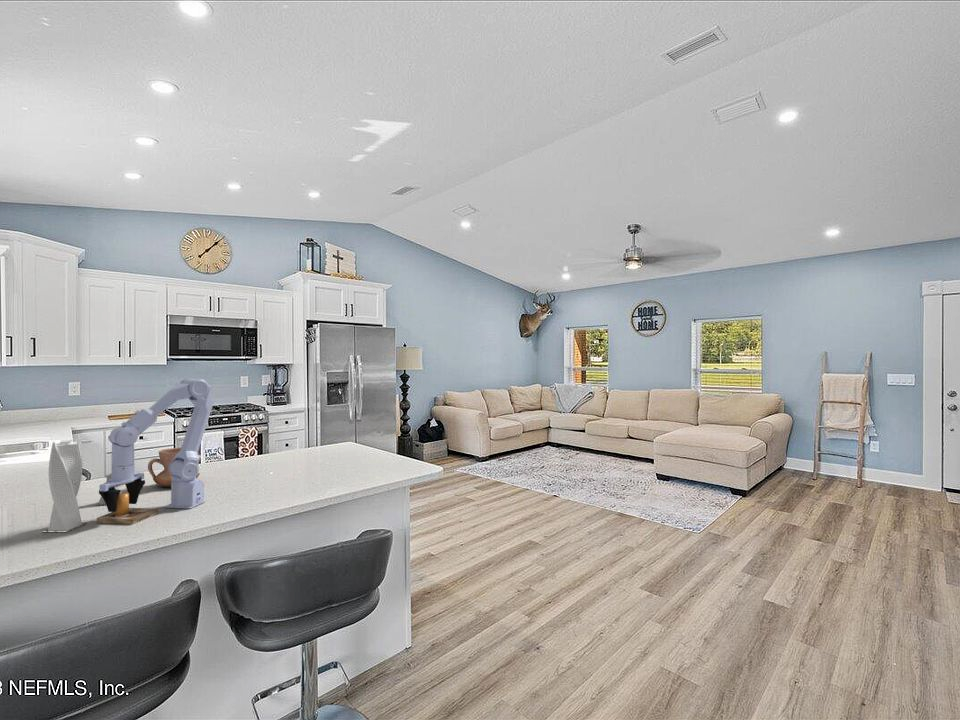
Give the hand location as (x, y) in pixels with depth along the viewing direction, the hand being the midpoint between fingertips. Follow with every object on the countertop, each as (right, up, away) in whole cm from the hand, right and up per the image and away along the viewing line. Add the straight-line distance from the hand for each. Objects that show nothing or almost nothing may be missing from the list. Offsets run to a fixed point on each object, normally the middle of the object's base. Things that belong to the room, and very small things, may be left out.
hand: (122, 507), depth 146 cm
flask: (-17, -4, +16) cm, 24 cm away
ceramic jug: (-9, -4, +39) cm, 40 cm away
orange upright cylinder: (0, -4, 0) cm, 4 cm away
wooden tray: (+1, -4, +1) cm, 4 cm away
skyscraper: (-10, -4, -9) cm, 14 cm away
